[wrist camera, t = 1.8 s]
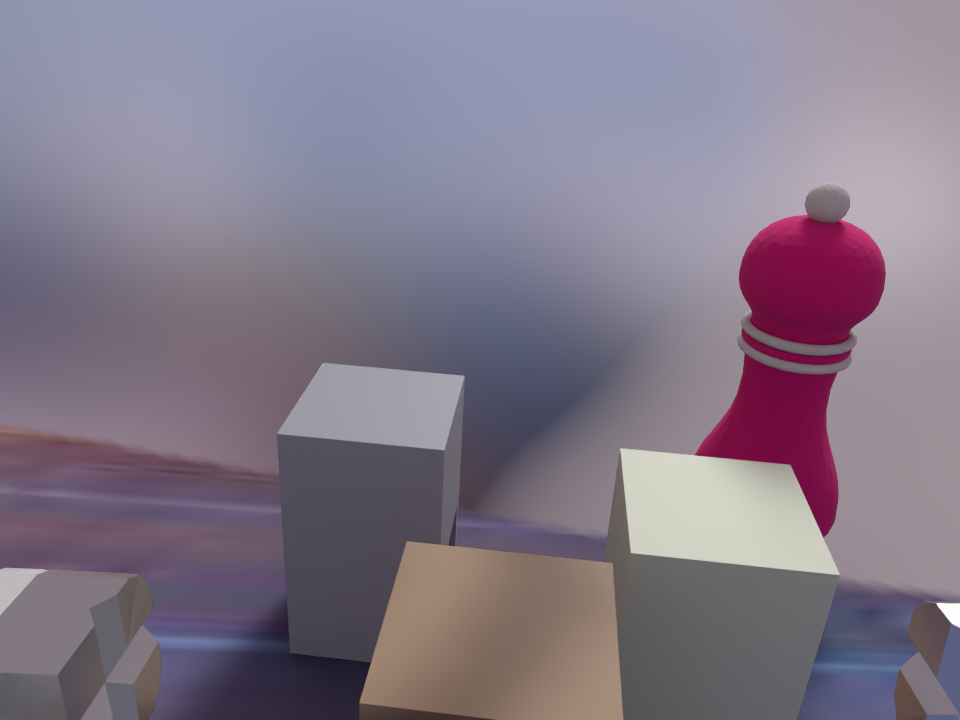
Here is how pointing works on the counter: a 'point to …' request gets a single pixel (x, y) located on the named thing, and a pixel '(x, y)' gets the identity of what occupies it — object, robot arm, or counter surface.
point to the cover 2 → (715, 587)
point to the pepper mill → (799, 341)
